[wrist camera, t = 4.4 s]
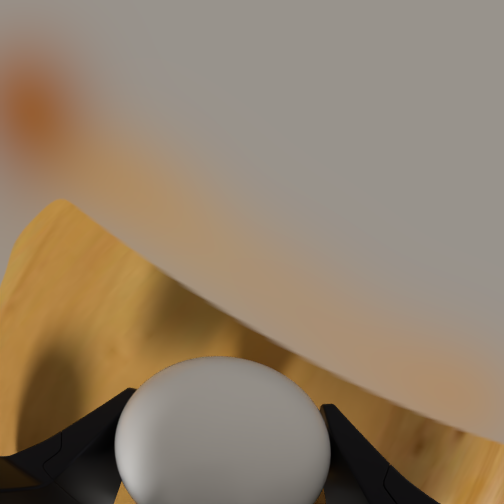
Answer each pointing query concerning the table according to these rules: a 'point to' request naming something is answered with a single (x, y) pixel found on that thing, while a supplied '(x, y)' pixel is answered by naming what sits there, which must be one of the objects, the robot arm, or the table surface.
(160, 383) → the lightbulb
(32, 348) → the table surface
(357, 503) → the robot arm
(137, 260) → the table surface
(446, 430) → the table surface
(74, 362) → the table surface
